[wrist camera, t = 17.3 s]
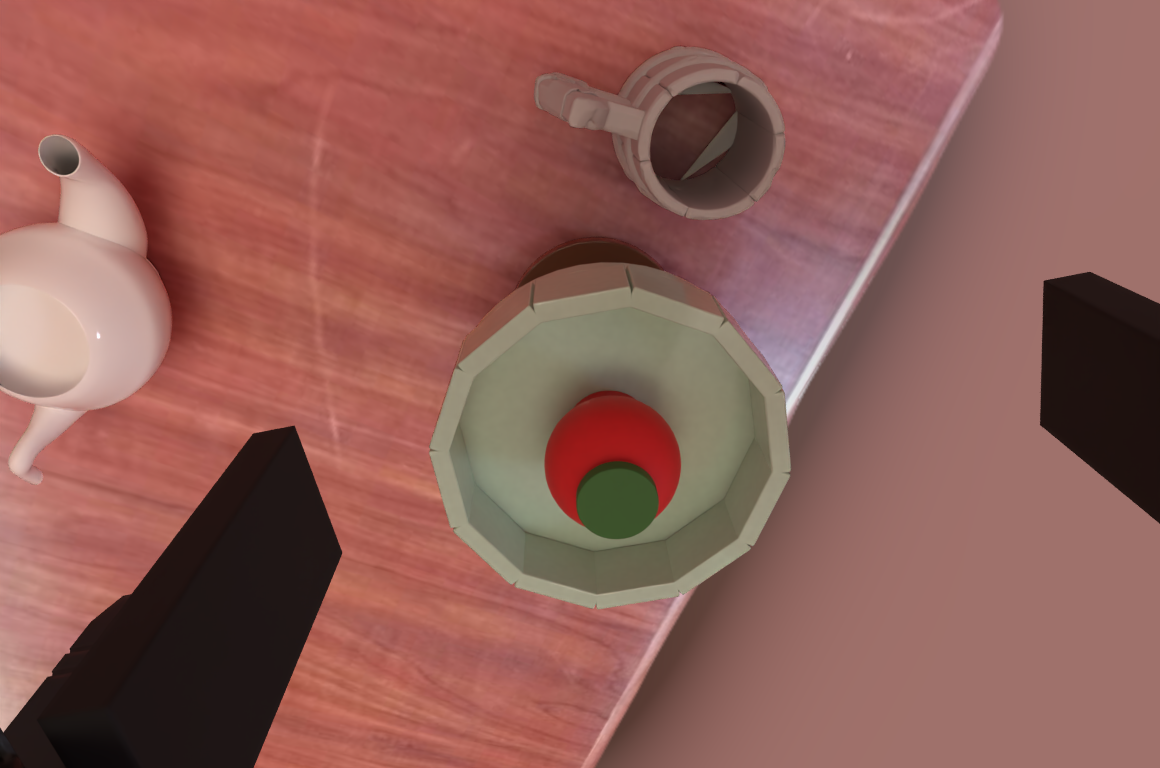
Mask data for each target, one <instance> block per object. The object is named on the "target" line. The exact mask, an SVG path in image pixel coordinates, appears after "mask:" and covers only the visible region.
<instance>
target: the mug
mask: <svg viewBox="0 0 1160 768" xmlns="http://www.w3.org/2000/svg"><path fill="white" fill-rule="evenodd" d="M715 82H724V83H725V85H726V86H727V87H728V88H727V87H725V86H722V85H720V84H718V83H715ZM719 93H731V95H732V97H733V100H734V103H735V109H736V112H735V113H734V114H733V115H732V117H731V118H730V119H729V120H728V122H727V123H726V124H725V125H724V126H723V128H722V129H721V130H720V131H719V133H718V134H717V135H716V136H715V138H714V139H713V140H712V141H711V142H710V144H709V145H708V146H707V147H706V149H705V150H704V151H703V152H702V154H701V155H700V156H699V157H698V159H697V160H696V161H695V162H694V163H693V165H692V166H691V167H690V168H689V170H688V171H687V172H686V173H685V175H684V176H683V177H682V178H681V180H672V179H668V178H664V177H662V178H661V177H660V176H658V175H656V174H655V173H654V171H653V168H652V164H651V161H650V142H651V136H652V132H653V129H654V126H655V123H656V121H657V119H658V117H659V115H660V113H661V112H662V110H663V109H664V108H665V106H666V105H667V104H668V103H669V101H670V100H671V99H672V97H674V96H676V95H683V94H719ZM534 100H535V103H536V106H537V107H538V108H539V109H542V110H545V111H548V112H549V113H550V114H551V115H553V116H556V117H557V118H559V119H561V120H563V121H566V122H568V123H569V125H570V126H571V127H575V128H587V129H589V130H604V131H607V132H611V133H612V140H613V146H614V149H615V153H616V155H617V158H618V160H619V162H620V164H621V166H622V167H623V171H624V173H625V175H626V176H627V177H628V178H629V179H630V180H633V182H634V183H635V184H636V187H637V188H638V190H639V191H640V192H641V193H642V194H643V195H645V196H646V197H647V198H649V199H651V200H652V201H653V202H655V203H656V204H658V205H659V206H661V207H663V208H665V209H667V210H669V211H672V212H674V213H676V214H678V215H680V216H685V217H686V218H689V219H696V220H713V219H723V218H727V217H731V216H734V215H736V214H739V213H741V212H743V211H745V210H747V209H748V208H750V207H751V206H753V205H754V201H756V202H757V201H758V200H760V198H761V197H762V196H763V195H764V194H765V193H766V192H767V191H768V189H769V188H770V187H771V183H772V180H773V177H774V176H775V174H776V172H777V171H778V170H779V168H780V166H781V163H782V160H783V155H784V150H785V134H784V133H783V132H784V131H785V125H784V121H783V117H782V114H781V112H780V109H779V107H778V105H777V103H776V102H775V100H774V98H773V97H772V96H771V94H770V93H769V92H768V88H767V86H766V85H765V84H764V82H763V81H762V80H761V79H760V78H758V77H757V76H755V75H754V74H753V73H751V72H750V71H749V70H748V69H746V68H745V67H743V66H741V65H739V64H738V63H735V62H733V61H731V60H730V59H728V58H727V57H725V56H723V55H721V54H719V53H717V52H715V51H712V50H709V49H705V48H700V47H683V46H676V47H673V48H671V49H669V50H666V51H663V52H661V53H658V54H656V55H654V56H652V57H651V58H649V59H648V60H646V61H645V62H644V63H643V64H641V65H640V66H639V67H638V68H637V69H636V70H635V71H634V72H633V73H632V74H631V75H630V76H629V77H628V79H627V80H626V82H625V83H624V85H623V86H622V88H621V90H620V92H619V93H618V95H615V94H612V93H609V92H606V91H603V90H599V89H596V88H593V87H590V86H588V85H587V83H586V82H584V81H582V80H579V79H576V78H573V77H570V76H568V75H565V74H562V73H558V72H553V73H550V74H548V73H547V74H542V75H540V76H538V77H537V78H536V80H535V88H534ZM728 149H729V150H728ZM726 150H728V152H727V153H726V155H725V156H724V157H723V158H722V160H721V161H719V162H718V163H717V164H716V167H713V168H711V169H710V170H709V171H707V172H706V173H704V174H702V175H700V176H698V177H695V178H691V179H686V178H688V177H689V176H690V175H692V174H693V173H695V172H696V171H698V170H699V169H701V168H702V167H703V166H705V165H706V164H708V163H709V162H711V161H712V160H713V159H715V158H716V157H718V156H719V155H721V154H722V153H723V152H725V151H726ZM685 179H686V180H685ZM753 200H754V201H753Z"/></svg>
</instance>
